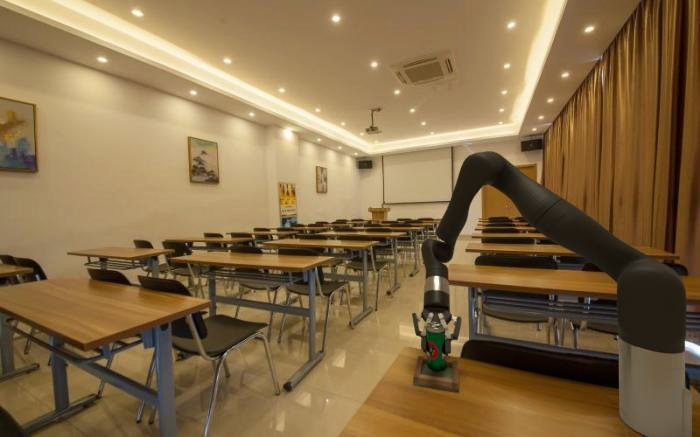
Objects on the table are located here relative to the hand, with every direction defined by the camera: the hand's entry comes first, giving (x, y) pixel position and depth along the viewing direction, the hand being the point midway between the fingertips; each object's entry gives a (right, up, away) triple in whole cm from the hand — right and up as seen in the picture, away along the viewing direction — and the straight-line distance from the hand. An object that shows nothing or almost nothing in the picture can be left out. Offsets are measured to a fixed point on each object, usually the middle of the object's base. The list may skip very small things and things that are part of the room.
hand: (435, 353), depth 77 cm
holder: (+1, -7, +2) cm, 8 cm away
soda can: (+1, -5, +2) cm, 6 cm away
